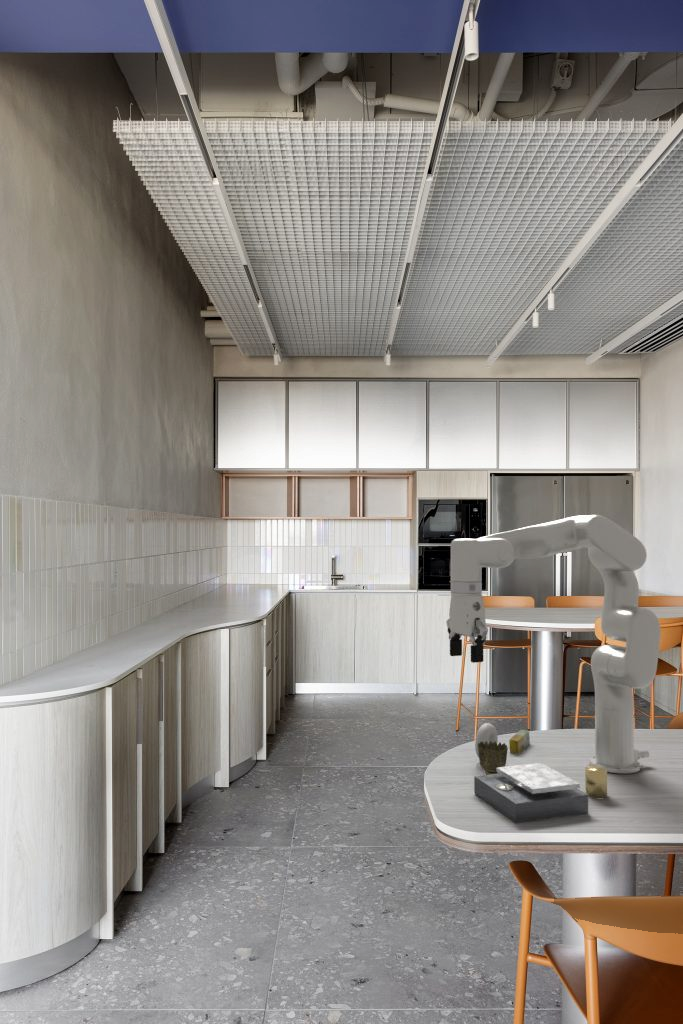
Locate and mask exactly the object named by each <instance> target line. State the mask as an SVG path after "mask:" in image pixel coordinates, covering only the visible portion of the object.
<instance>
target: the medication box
mask: <svg viewBox="0 0 683 1024" xmlns="http://www.w3.org/2000/svg"><path fill="white" fill-rule="evenodd" d="M530 739H531V738H530V730H529V729H519V731H517V732H516V733H515V734H514V735H513V736H512V737H511V738H510V739H509V752H510V753H511V754H515V753H516V754H517V755H519V754H521V753H522V751H524V750H525V749H526V748H527V747H528V746H529V745H530V744H531V742H530Z"/></svg>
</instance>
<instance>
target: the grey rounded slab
mask: <svg viewBox="0 0 683 1024" xmlns="http://www.w3.org/2000/svg"><path fill="white" fill-rule="evenodd" d="M474 741H475V742H474V743H475V753H476V756H477V757H478V759H479V753H478V743H479V744H480V742H481V741H482V742H483V743H484V744H485V742H486V741H487V743H488V745H489V743H490V741H492V742H493V743H494V741H495V742H496V743H497V744H498V732H497V729H496V727H495V726H494V725H493V724H492V723H490V722H484V723H483V724H482V725H480V726H479V728H478V730H477V733H476V737H475V740H474Z"/></svg>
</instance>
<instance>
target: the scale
mask: <svg viewBox="0 0 683 1024" xmlns="http://www.w3.org/2000/svg"><path fill="white" fill-rule="evenodd" d="M473 778H474V779H473V781H474V783H473V785H474V787H473V788H474V789H473V791H474V793H475V795H476V796H477V797H478V798H480V799H481V798H482V799H481V800H483V801H484V802H485V803H487V804H488V805H490V806H491V807H493V808H494V809H496V810H497V811H498V812H500V813H501V814H502V815H504V816H505V817H507V819H510V820H511V821H512V822H514V823H515V824H519V823H526V822H534V821H540V820H541V821H543V820H548V819H554V818H555V819H557V818H564V817H571V816H578V815H586V814H589V796H588V794H586V792H584V791H582V790H581V789H580V788H578V789H569V790H561V791H552V792H544V793H536V794H532V793H530V792H528V791H527V790H525V789H524V788H522V787H520V786H519V785H517V784H515V783H514V782H512V781H511V780H509V779H507V778H506V777H504V776H502V775H501V774H490V775H486V774H482V775H474V777H473Z"/></svg>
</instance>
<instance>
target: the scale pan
mask: <svg viewBox="0 0 683 1024" xmlns="http://www.w3.org/2000/svg"><path fill="white" fill-rule="evenodd" d="M496 771H497V772H498V773H499V774H501V775H502V776H504V777H506V778H507V779H509V780H511V781H512V782H514V783H515V784H517V785H519V786H520V787H522V788H524V789H525V790H527V791H528V792H530V793H532V794H536V793H544V792H552V791H561V790H569V789H581V783H580V782H579V781H575V780H574V779H572V778H570V777H568V776H567V775H564V774H563V773H561V772H559V771H557V770H555V769H553V768H552V767H549V766H548V765H546V764H544V763H542V762H536V763H526V764H519V765H510V766H509V765H505V767H497V768H496Z"/></svg>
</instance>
